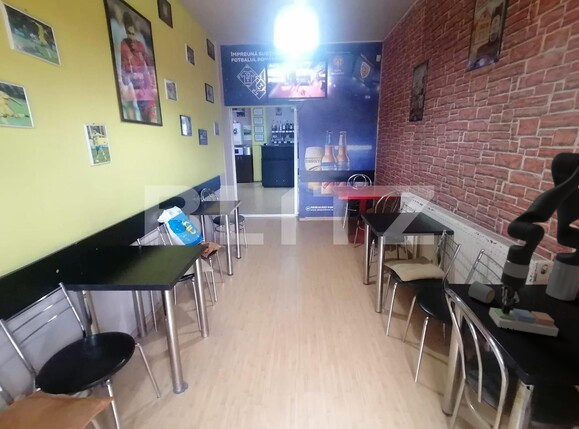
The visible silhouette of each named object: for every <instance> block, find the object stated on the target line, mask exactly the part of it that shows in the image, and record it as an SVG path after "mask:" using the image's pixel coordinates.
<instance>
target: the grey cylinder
mask: <svg viewBox="0 0 579 429" xmlns="http://www.w3.org/2000/svg"><path fill="white" fill-rule="evenodd" d="M467 293H468V296H469V297H471V298H474V299H476V300H478V301H480V302H482V303H484V304H491V302H492V301H493V299H494V297H495V295H496V291H495V289H493V288H492V287H491V286H488V285H486V284H484V283H482V282H480V281H478V280H475V281H473V282H472V283H471V284H470V286H469V289H468V292H467Z"/></svg>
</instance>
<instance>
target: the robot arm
mask: <svg viewBox="0 0 579 429" xmlns="http://www.w3.org/2000/svg"><path fill="white" fill-rule="evenodd" d="M550 173H551V178H552V181H553V185H554V187H552V188H550V189H548V190H546V191H544V192H542V193H541V194H539V195H538V196H537V197H536V198H535V199H534V200H533V202H531V204H530V206H529V207H528V208H527V210H525V211H524V212H522V213H521V214H520V215H518V216H517V217H516V218H514V219H513V220H511V222H510V223H509V224H508V226H507V229H506V233H507V235H508V236H509V237H510V238H512V239H516V240H519V241H522V242H525V244H524V245H521V244H513V245H510V246H509V248H508V250H507V255H506V260H505V262H504V265H503V268H502V273H501V276H500V282H501V283H502V284H499V294H500V295H499V296H500V300H502V305H501V309H502V310H501V311H502V312H503V313H504V314H509V313H510V311H511V308H516V307H517V306H519V305H520V304H521V303H522V300H523V299H521V298H519V295H520V290H521V289H523V288H525V287H526V283H527V281H528V275H529V272H530V267H531V266H530V265H531V262H532V258H533V255H534V252H535V251H536V250H537V248H538V246H539V244H540V243H541V242H542V240H543V239H544V237H545V233H546V232H545V229H544V227H543V226H542V225H540V224H541V223H542V224H544V223H547V222H548V221H549V220H550V219H551V217H553V215H554V214H555V212H556V220H557V225H556V226H557V228H556V242H557V244H558V245H559V246H563V247H566V248H571V249H574V250H575V251H573V252H559V253H556V255H555V258H554V261H553V262H554V263H553V266H552V269H551V272H550V276H549V278H548V279H549V280H548V282H547V286H546V289H545V293H546V294H547V295H548V296H550V297H552V298H555V299H558V300H561V301H565V302H566V301H575V300H576V295H577V293H578V290H579V228H578V227H573V226H570V225H571V224H573V223H574V222H576V221H578V220H579V153H578V152H577V153H575V152H559V153H557V154H556V155H555V156H554V157H553V158H552V161H551V165H550Z"/></svg>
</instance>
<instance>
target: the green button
mask: <svg viewBox="0 0 579 429" xmlns="http://www.w3.org/2000/svg"><path fill="white" fill-rule="evenodd" d="M494 308H495V307H494ZM501 310H502V308H497V309H496V308H495V313H496V314H497V315H498V317H499V318H503V319H509V320H515V316H514V315H513V314H512V313H511V312H510V313H509V314H504V313H503V312H502V311H501Z"/></svg>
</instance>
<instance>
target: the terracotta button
mask: <svg viewBox="0 0 579 429" xmlns="http://www.w3.org/2000/svg"><path fill="white" fill-rule="evenodd" d="M530 313H531V314H532V315H533V316H534V318H535V320H534V321H535V322H536V323H537V324H542V325H548V326H553V324H554V323H555V319H553V318H552V317H551V316H550V315H549V314H548V313H546V312H539V311H530ZM554 325H555V324H554Z"/></svg>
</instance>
